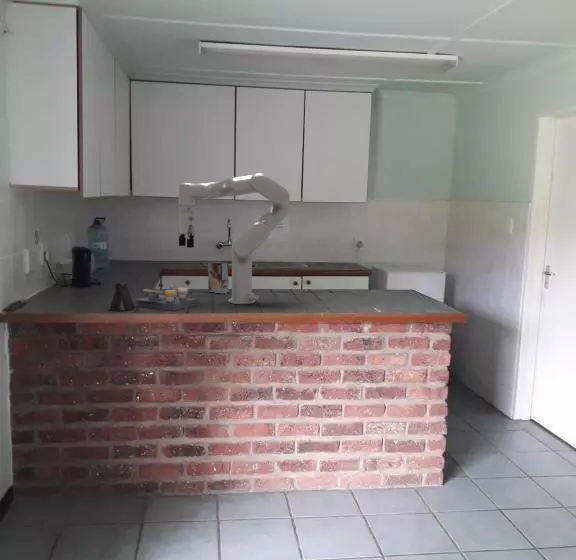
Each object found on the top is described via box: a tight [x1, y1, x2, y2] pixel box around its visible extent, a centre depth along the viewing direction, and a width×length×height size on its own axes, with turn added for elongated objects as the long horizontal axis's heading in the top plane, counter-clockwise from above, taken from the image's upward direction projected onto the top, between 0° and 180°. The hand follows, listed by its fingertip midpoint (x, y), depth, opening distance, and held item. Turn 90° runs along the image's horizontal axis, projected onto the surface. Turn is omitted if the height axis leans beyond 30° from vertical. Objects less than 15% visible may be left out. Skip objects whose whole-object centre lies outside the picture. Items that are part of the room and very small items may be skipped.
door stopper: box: [109, 281, 136, 312], centre depth 259 cm, size 9×6×12 cm, turn 78°
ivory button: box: [177, 287, 189, 300], centre depth 271 cm, size 4×4×5 cm
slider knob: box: [166, 284, 178, 297], centre depth 275 cm, size 3×3×5 cm
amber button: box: [164, 289, 175, 303], centre depth 263 cm, size 4×4×5 cm
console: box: [134, 293, 198, 312], centre depth 270 cm, size 22×17×4 cm
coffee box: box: [207, 261, 229, 294], centre depth 309 cm, size 9×6×16 cm
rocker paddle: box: [143, 288, 164, 295], centre depth 273 cm, size 5×9×2 cm, turn 152°
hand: (186, 246), depth 277 cm, fingers open, 9 cm apart
